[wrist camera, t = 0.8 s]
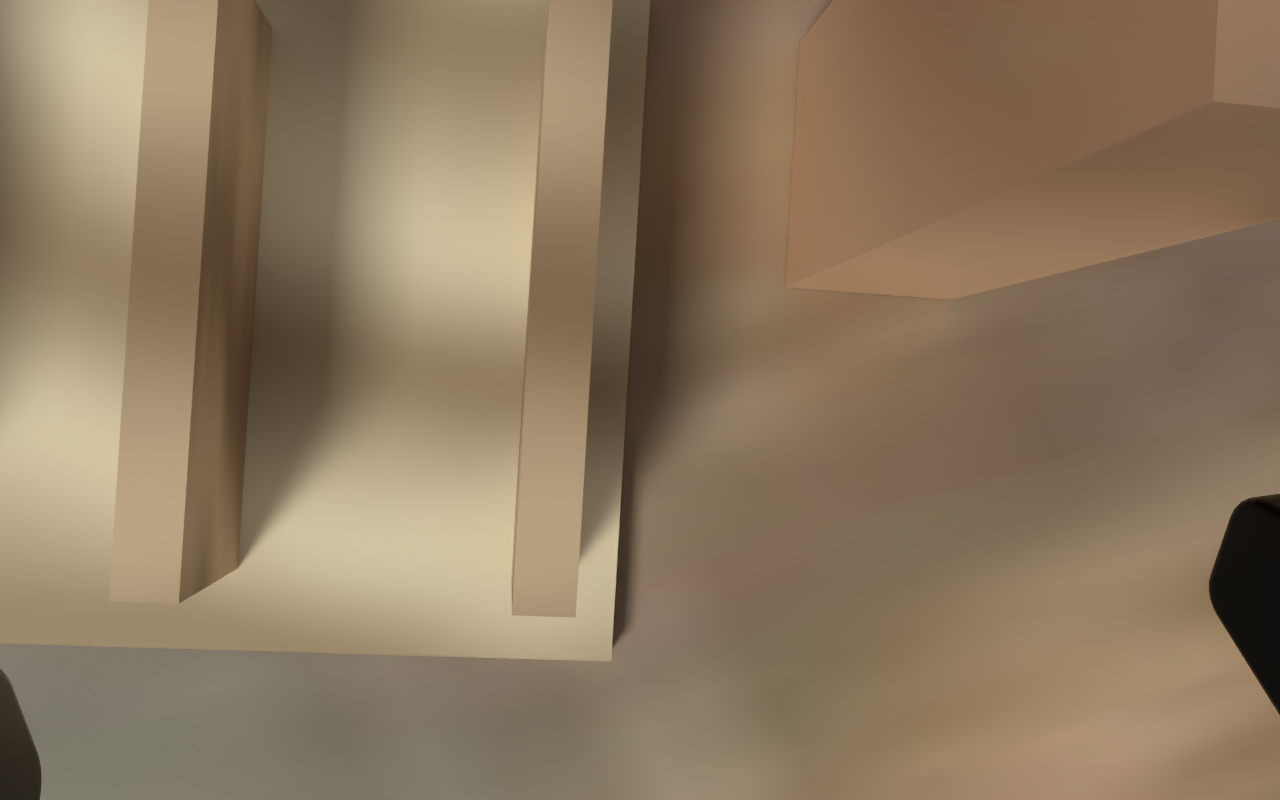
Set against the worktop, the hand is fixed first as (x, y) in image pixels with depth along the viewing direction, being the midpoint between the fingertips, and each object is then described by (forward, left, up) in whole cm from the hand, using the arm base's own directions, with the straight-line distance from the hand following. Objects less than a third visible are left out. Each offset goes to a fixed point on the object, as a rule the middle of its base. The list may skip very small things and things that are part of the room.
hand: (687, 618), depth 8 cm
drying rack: (+7, +7, -13) cm, 17 cm away
